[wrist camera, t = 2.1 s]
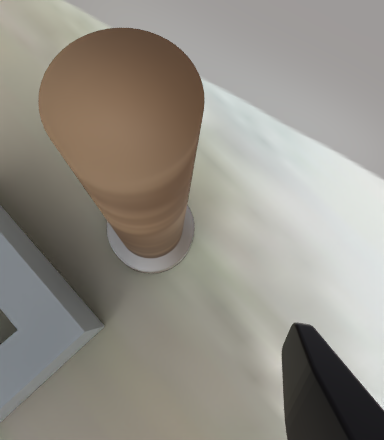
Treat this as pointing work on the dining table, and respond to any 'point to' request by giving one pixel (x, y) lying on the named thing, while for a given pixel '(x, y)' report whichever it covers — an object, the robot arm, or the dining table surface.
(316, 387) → the robot arm
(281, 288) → the dining table surface
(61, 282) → the tool holder
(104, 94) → the cleaning tool
